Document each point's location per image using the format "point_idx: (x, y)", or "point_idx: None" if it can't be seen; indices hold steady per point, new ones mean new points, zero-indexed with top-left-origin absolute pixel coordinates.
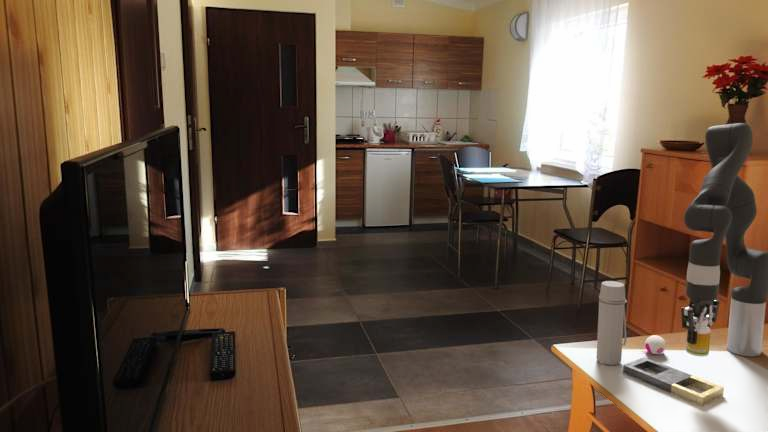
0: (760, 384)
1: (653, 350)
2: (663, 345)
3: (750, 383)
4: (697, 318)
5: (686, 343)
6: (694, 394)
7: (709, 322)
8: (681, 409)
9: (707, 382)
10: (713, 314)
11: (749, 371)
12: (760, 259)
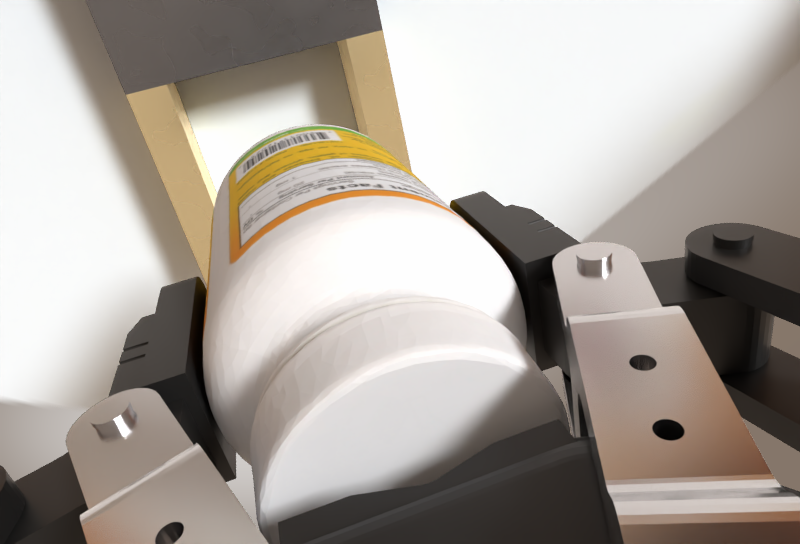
0: (676, 158)
1: None
2: None
3: (650, 135)
4: (384, 484)
5: (229, 192)
6: (191, 245)
7: (570, 425)
8: (68, 265)
9: (391, 143)
10: (790, 427)
11: (779, 20)
12: None
